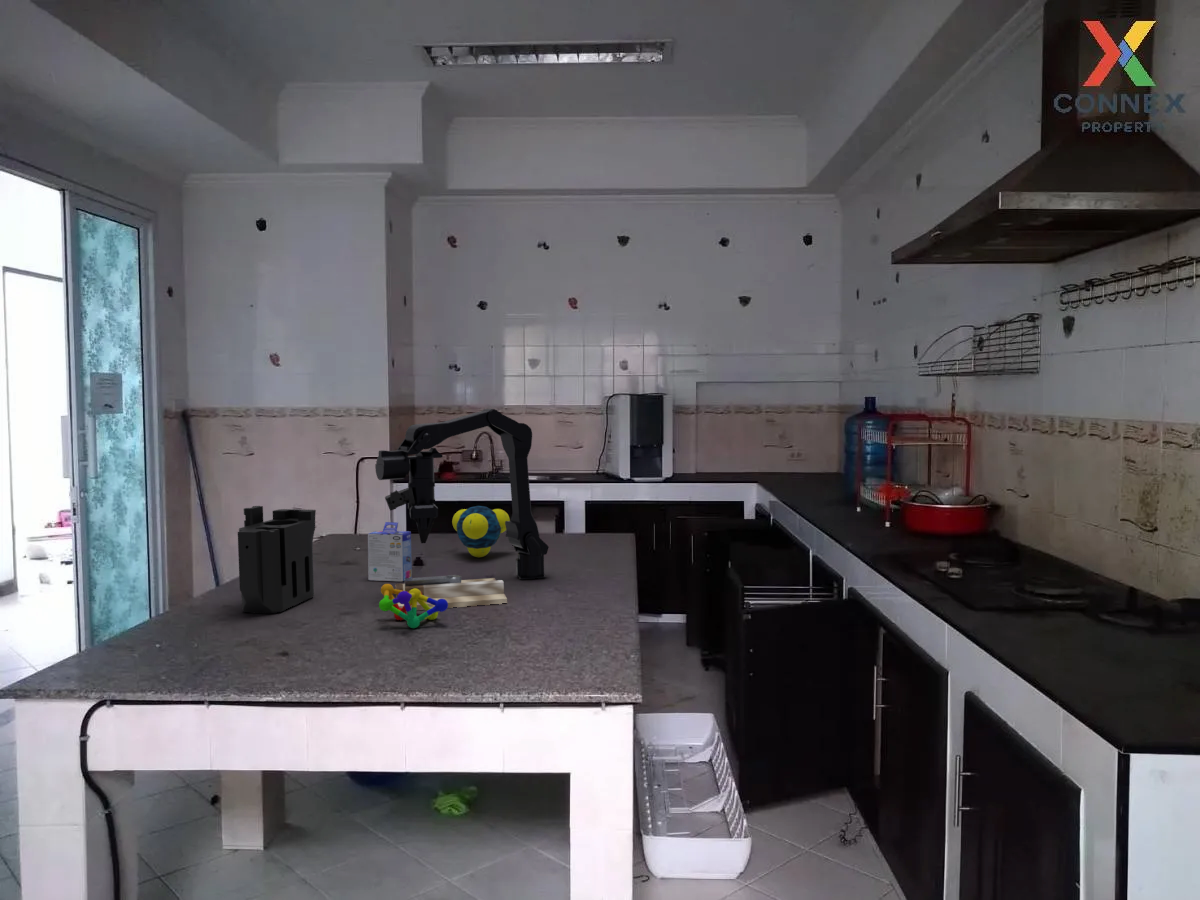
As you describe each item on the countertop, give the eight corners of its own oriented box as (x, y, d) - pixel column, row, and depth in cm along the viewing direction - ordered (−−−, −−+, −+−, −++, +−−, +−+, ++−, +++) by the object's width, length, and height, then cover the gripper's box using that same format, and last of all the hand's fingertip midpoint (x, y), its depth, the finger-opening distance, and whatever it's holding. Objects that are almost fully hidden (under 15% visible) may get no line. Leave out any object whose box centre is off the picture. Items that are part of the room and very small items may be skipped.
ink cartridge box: (413, 577, 217) (411, 522, 216) (404, 582, 211) (402, 525, 210) (377, 576, 219) (376, 521, 218) (367, 581, 213) (366, 524, 212)
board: (494, 582, 210) (494, 567, 209) (507, 603, 188) (506, 587, 188) (395, 589, 204) (395, 573, 203) (397, 611, 182) (396, 594, 182)
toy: (505, 563, 233) (504, 510, 232) (444, 564, 234) (443, 510, 233) (511, 552, 249) (511, 502, 248) (455, 553, 250) (454, 503, 249)
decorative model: (434, 592, 183) (454, 588, 170) (428, 633, 181) (447, 632, 168) (375, 583, 178) (390, 577, 165) (367, 624, 176) (382, 623, 162)
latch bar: (460, 587, 197) (460, 574, 197) (462, 590, 194) (462, 577, 194) (404, 590, 194) (404, 578, 194) (405, 594, 191) (405, 581, 190)
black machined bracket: (320, 595, 198) (317, 502, 197) (270, 618, 178) (266, 515, 176) (274, 593, 200) (271, 502, 199) (220, 616, 180) (216, 514, 179)
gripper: (386, 475, 205) (387, 538, 206) (386, 482, 187) (388, 552, 188) (432, 473, 208) (434, 536, 209) (437, 481, 190) (439, 549, 191)
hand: (423, 543), depth 199 cm, fingers closed
